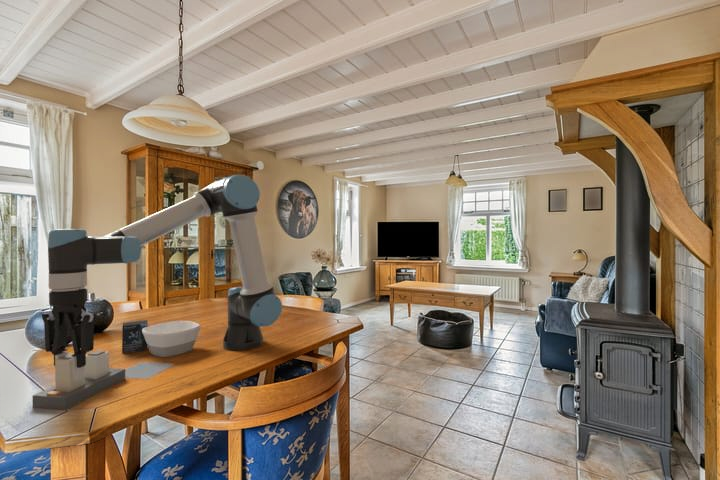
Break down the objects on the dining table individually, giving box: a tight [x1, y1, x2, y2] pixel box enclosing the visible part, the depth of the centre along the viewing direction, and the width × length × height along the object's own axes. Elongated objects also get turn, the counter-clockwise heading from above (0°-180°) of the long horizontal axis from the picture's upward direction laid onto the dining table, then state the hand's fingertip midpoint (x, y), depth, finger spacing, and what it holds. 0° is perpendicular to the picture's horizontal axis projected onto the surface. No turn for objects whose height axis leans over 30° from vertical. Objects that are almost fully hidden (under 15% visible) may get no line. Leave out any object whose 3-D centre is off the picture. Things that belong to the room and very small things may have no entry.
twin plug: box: [54, 352, 84, 393], centre depth 88 cm, size 4×4×9 cm
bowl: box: [142, 320, 201, 358], centre depth 125 cm, size 18×18×9 cm
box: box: [121, 319, 149, 354], centre depth 126 cm, size 8×6×11 cm
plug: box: [84, 350, 110, 379], centre depth 96 cm, size 4×4×9 cm
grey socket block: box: [32, 367, 126, 411], centre depth 92 cm, size 9×18×4 cm, turn 173°
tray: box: [125, 361, 175, 380], centre depth 107 cm, size 12×12×1 cm
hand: (70, 378), depth 88 cm, fingers closed on twin plug, 4 cm apart
